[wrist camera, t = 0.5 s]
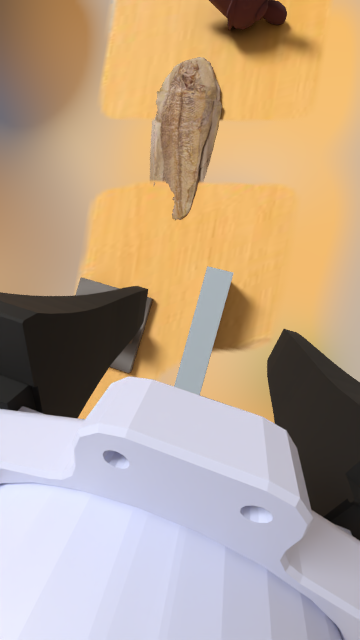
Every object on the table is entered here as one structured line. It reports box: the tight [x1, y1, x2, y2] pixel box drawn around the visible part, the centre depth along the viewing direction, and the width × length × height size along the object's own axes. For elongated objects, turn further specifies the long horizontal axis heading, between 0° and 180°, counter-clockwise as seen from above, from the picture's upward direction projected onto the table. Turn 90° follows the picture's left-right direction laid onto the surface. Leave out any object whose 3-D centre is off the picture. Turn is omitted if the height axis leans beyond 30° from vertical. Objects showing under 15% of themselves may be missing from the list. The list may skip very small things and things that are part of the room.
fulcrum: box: [75, 278, 153, 373], centre depth 33 cm, size 12×12×4 cm
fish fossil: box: [150, 57, 222, 220], centre depth 35 cm, size 26×10×1 cm, turn 176°
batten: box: [174, 266, 233, 395], centre depth 31 cm, size 24×4×5 cm, turn 164°
